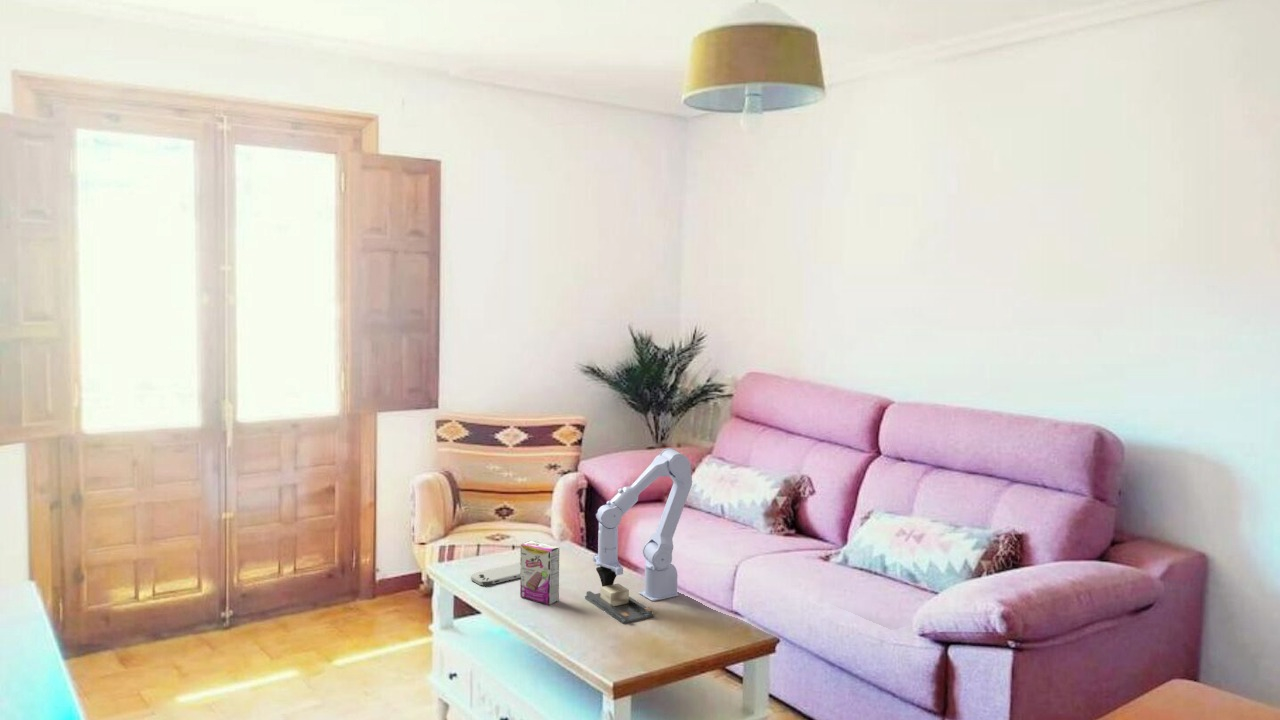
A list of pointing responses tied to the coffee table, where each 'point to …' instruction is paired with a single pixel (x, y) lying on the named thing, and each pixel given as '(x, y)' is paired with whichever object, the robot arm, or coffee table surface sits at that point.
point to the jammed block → (615, 594)
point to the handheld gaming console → (497, 575)
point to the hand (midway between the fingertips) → (607, 591)
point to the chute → (621, 609)
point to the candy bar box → (539, 572)
